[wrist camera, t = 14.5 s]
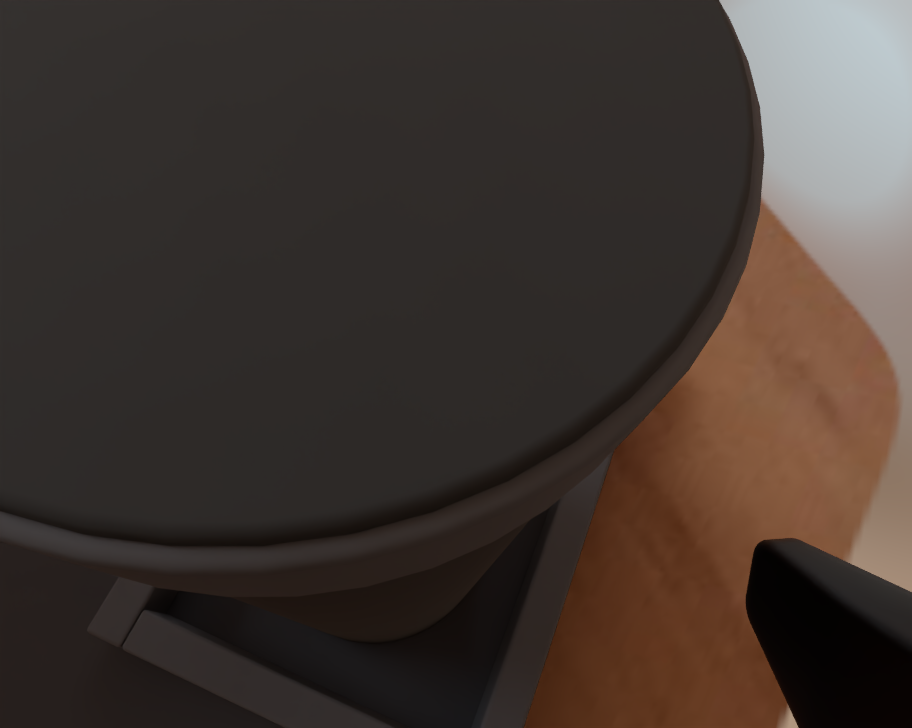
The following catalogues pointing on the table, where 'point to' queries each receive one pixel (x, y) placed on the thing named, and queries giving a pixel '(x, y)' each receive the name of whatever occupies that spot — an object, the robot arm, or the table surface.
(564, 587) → the base pad
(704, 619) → the table surface
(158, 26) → the dark grey cylinder
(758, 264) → the table surface
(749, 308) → the table surface
